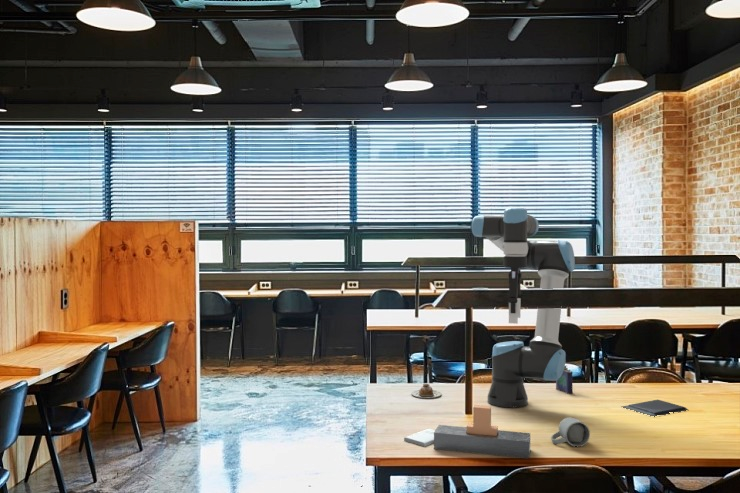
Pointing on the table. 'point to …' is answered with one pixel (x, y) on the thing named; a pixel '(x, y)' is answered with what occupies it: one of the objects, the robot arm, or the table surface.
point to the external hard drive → (421, 437)
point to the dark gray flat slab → (655, 407)
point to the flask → (565, 382)
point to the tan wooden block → (482, 421)
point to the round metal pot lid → (426, 392)
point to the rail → (482, 442)
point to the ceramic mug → (572, 432)
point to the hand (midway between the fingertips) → (514, 320)
